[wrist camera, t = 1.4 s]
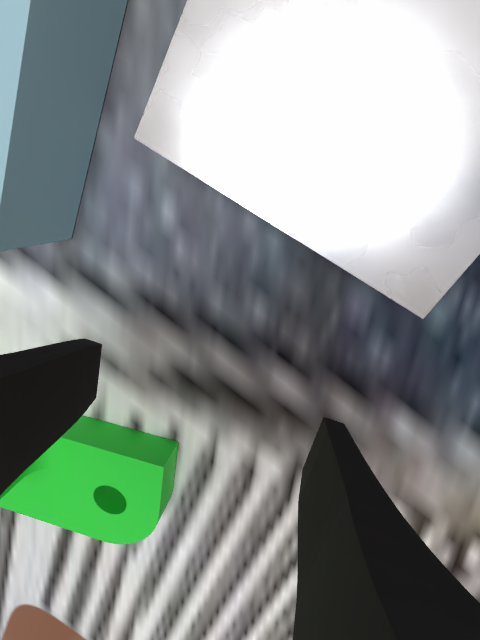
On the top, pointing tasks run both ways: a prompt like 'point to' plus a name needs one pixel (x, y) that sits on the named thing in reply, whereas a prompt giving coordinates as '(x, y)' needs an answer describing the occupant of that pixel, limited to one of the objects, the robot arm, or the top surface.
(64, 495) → the mechanical part
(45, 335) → the top surface
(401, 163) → the block
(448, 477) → the top surface
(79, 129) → the bar
